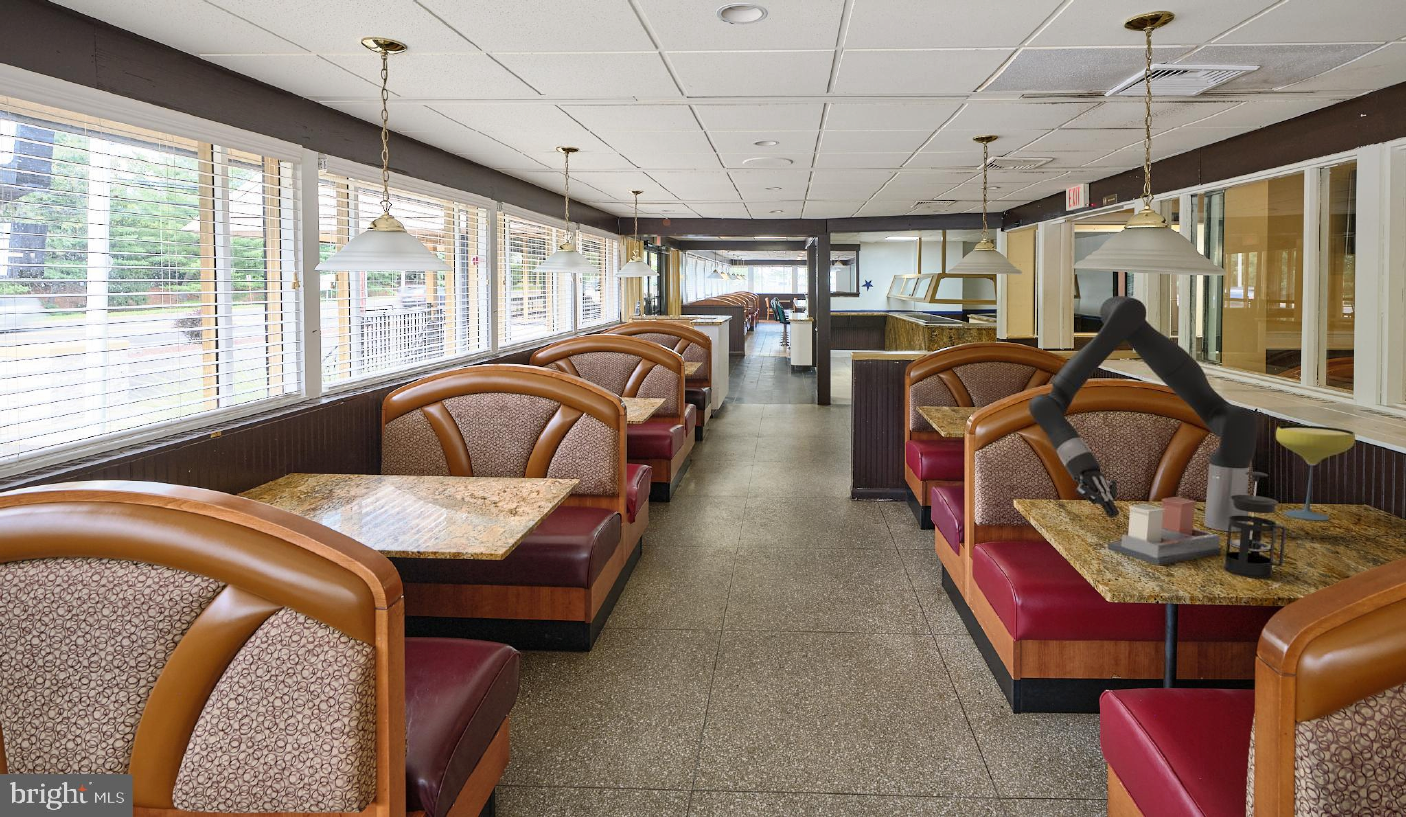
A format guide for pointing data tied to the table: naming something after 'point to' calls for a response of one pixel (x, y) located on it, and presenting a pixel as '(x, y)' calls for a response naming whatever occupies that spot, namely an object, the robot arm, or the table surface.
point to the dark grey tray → (1169, 546)
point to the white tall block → (1146, 522)
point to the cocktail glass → (1313, 453)
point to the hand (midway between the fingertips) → (1115, 516)
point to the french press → (1252, 536)
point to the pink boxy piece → (1178, 515)
